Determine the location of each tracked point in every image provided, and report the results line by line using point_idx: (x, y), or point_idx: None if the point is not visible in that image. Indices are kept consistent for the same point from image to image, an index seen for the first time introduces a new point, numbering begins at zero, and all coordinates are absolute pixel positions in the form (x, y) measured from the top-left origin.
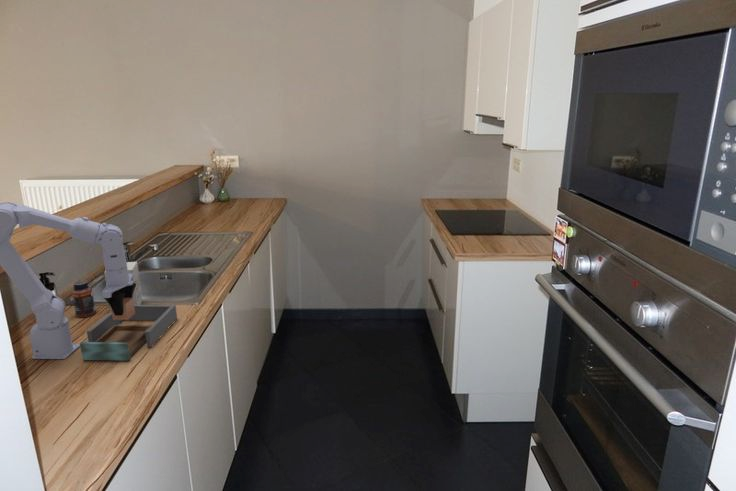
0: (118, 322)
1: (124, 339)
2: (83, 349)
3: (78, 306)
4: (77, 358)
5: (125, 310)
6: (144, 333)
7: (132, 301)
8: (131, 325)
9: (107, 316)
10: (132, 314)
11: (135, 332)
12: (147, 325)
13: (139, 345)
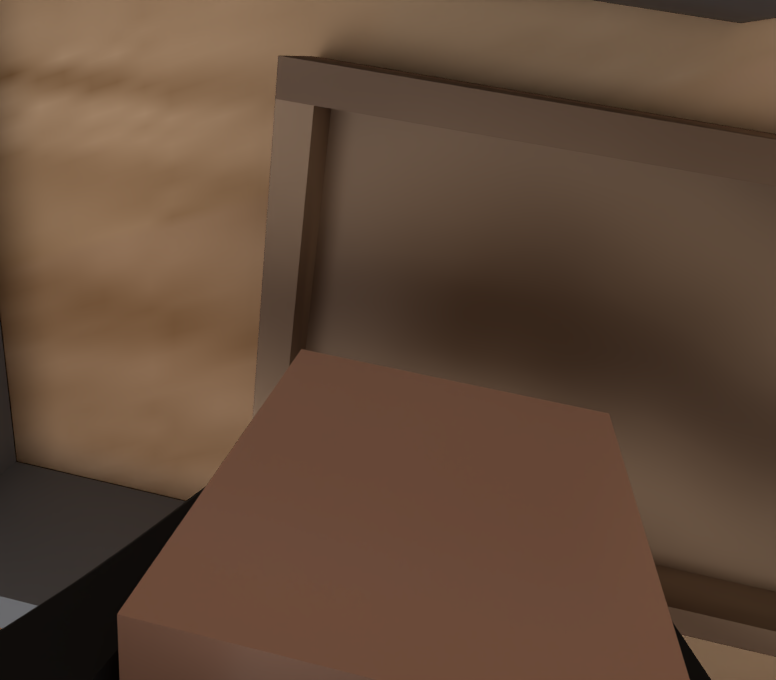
0: (91, 496)
1: (540, 354)
2: None
3: None
4: (752, 656)
5: (641, 585)
6: (565, 105)
7: (232, 548)
8: (271, 354)
9: None
10: (409, 385)
11: (365, 275)
12: (284, 139)
13: (740, 129)
